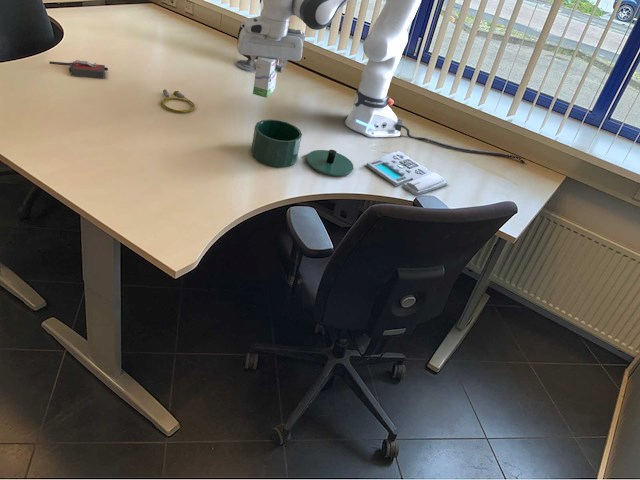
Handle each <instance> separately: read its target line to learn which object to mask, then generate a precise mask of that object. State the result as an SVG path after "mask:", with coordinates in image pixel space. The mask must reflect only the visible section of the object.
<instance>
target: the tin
mask: <svg viewBox="0 0 640 480" xmlns="http://www.w3.org/2000/svg"><path fill="white" fill-rule="evenodd" d="M302 136H303V133H302V131H301V129H300V128H298V127H297V126H296V125H294V124H292V123H290V122H288V121H284V120H280V119H269V118H268V119H262V120H259V121H258V122H256V123H255V125H254V129H253V136H252V142H251V147H250V148H251V149H250V153H251V156H252V158H253V159H254V160H255V161H257V162H258V163H259V164H262V165H264V166H266V167H271V168H277V169H283V168H285V169H286V168H289V167H290V168H291V167H292V166H293V165H295V164H296V163H297V159H298V156H299V152H300V151H299V150H300V147H301V142H302Z"/></svg>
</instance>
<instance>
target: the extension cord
mask: <svg viewBox="0 0 640 480" xmlns="http://www.w3.org/2000/svg"><path fill="white" fill-rule="evenodd" d="M162 94H163V96H164V97H165V98H164V99H162V101H161V102H160V105H161V107H162V108H163V109H165V110H167V111H169V112H171V113H172V112H173V113H176V114H177V113H178V114H187V113H189V112H192V111H194V110H195V106H196V105H195V103H194V102H193V101H192V100H190V99H188V98H186V97H185V94H183V93H182V92H180V91H179V90H174V91H173V96H175V97H170V92H169V91H168V90H167V89H163V90H162ZM172 100H173V101H180V102H184V103H187V104H189V105H191V108H188V109H182V110H179V109H175V108H171V107H169V106H167V105H166V104H164V103H165V102H167V101H172Z"/></svg>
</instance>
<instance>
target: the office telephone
mask: <svg viewBox="0 0 640 480" xmlns="http://www.w3.org/2000/svg"><path fill="white" fill-rule="evenodd" d="M366 167H368V168H369V169H370V170H372V171H373V172H374V173H376V174H377V175H379V176H380V177H382V178H383V179H385V180H386V181H387V182H389V183H391V184H392V185H394V186H395V187H399V186H400V185H403V186H402V187H403V188H404V189H406V190H407V191H408V192H410V193H411V194H413V195H414V196H420V195H423V194H426V193H429V192H431V191H435V190H438V189H440V188H442V187H445V186H447V185H448V183H449V182H448V181H447V180H445V179H444V177H442V175H440V174H439V173H437V172H433V171H431V170H430V169H428V168H427V167H425V166H424V165H422V164H420V163H419V162H417V161H416V160H414V159H413V158H412V157H410V156H408V155H407V154H406V153H404V152H402V151H401V150H397V151H394V152H391V153H387V154H384V155H382V156H381V157H380V158H378V159H375V160H372V161H367V163H366Z"/></svg>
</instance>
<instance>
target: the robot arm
mask: <svg viewBox="0 0 640 480" xmlns="http://www.w3.org/2000/svg"><path fill="white" fill-rule="evenodd" d="M349 1H350V0H262V8H261V11H260V15H257V16H254V17H253V16H252V17H248V18H245V19H244V21H243V23H244V26H245V27H244V28H243V29H242V30H241V32H240V35H239V39H238V38H237V39H238V44H237V43H236V44H237V45H236V50H237V52H238V53H239V54H240V55H242V56H243V55H250V57H251V60H252V62H253V66H252V69H253V70H256V64H257V63H255V62H256V61H255V60H257V59H256V56H259V57H267V58H276V59H279V60H281V62H280V64H278V65H277V73H280V74H281V73H283V69H284V67H286V65H287V64H288V61H294V62H299V61H300V60H301V59H302V58H303V44H304V43H305V41H306V34H305V32H304V31H302V30H300V29H294V28H289V26H290V22H291V21H290V20H291V18H292V16H295V17H297V18H298V19H299V20H301V21H302V22H303V23H304V24H305V25H306V26H307V27H308V28H309V29H311V30H314V31H320V30H322V29H323V30H324V29H325V28H327V27H329V25H330V24H331V23H332V22H333V20H334V19H335V17H336V16H337V14H338V13H339V11H341V9H342V8H343V7H344V6H345V5H346V4H347V3H348V2H349ZM421 2H422V0H386V1H385V3H384V6H383V7H382V9H381V11H380V13H379V15H378V16H377V18H376V20H375V22H374V24H373V25H372V28H371V29H370V32H369V33H368V35H367V36H366V37H365V39H364V41H363V45H362V49H363V50H362V51H363V53H364V55H365V57H366V59H368V60H367V62H366V64H365V66H364V67H363V69H362V73H361V76H360V81H359V85H358V87H357V88H356V91H355V94H354V98H353V104H352V107H351V109H350V111H349V113H348V116H347V118H346V119H345V121H344V123H345V125H346V126H347V127H348V129H351V130H353V131H354V132H356V133H360V134H362V135H364V136H366V137H368V138H392V137H400V136H401V131H402V128H403V129H404V130H405V131H406V135H407V136H408V137H409V138H411V139H415V140H417V141H425V142H429V143H432V144H435V145H439V146H442V147H445V148H450V149H454V150H458V151H464V152H469V153H470V152H471V153H478V154H487V155H494V156H502V157H506V158H507V157H508V158H513V159H518V158H519V159H518V160H519V161H520V162H521V163H522V164H526V161H525V160H524V159H523V158H522V157H521V156H518V155H514V154H508V153H505V152H504V153H503V152H496V151H489V150H479V149H471V148H466V147H460V146H454V145H450V144H447V143H443V142H440V141H437V140H433V139H430V138H427V137H420V136H414V135H411V133H410V129H409V128H408V127H407V126H406V125H404V124H403V120H402V119H399V118H398V117H397V115H396V114H395V112H394V111H393V109H392V108H391V107H390V106H393V105H394V103H395V101H394V100H393V99H392V98H390V96H389V95H387V94H388V91H389V89H390V86H391V85H390V84H391V81H392V78H393V76H394V73H395V71H396V69H397V66H398V64H399V62H400V60H401V58H402V55H403V52H404V50H405V48H406V46H407V44H408V41H409V33H408V31H407V30H408V27H409V25H410V24H411V23H412V21H413V20H414V18H415V16H416V13H417V11H418V9H419V7H420V5H421ZM254 59H255V60H254ZM505 154H507V155H505ZM509 155H510V156H509ZM512 156H513V157H512ZM515 157H516V158H515ZM520 159H523V160H524V161H523V160H520Z"/></svg>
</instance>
